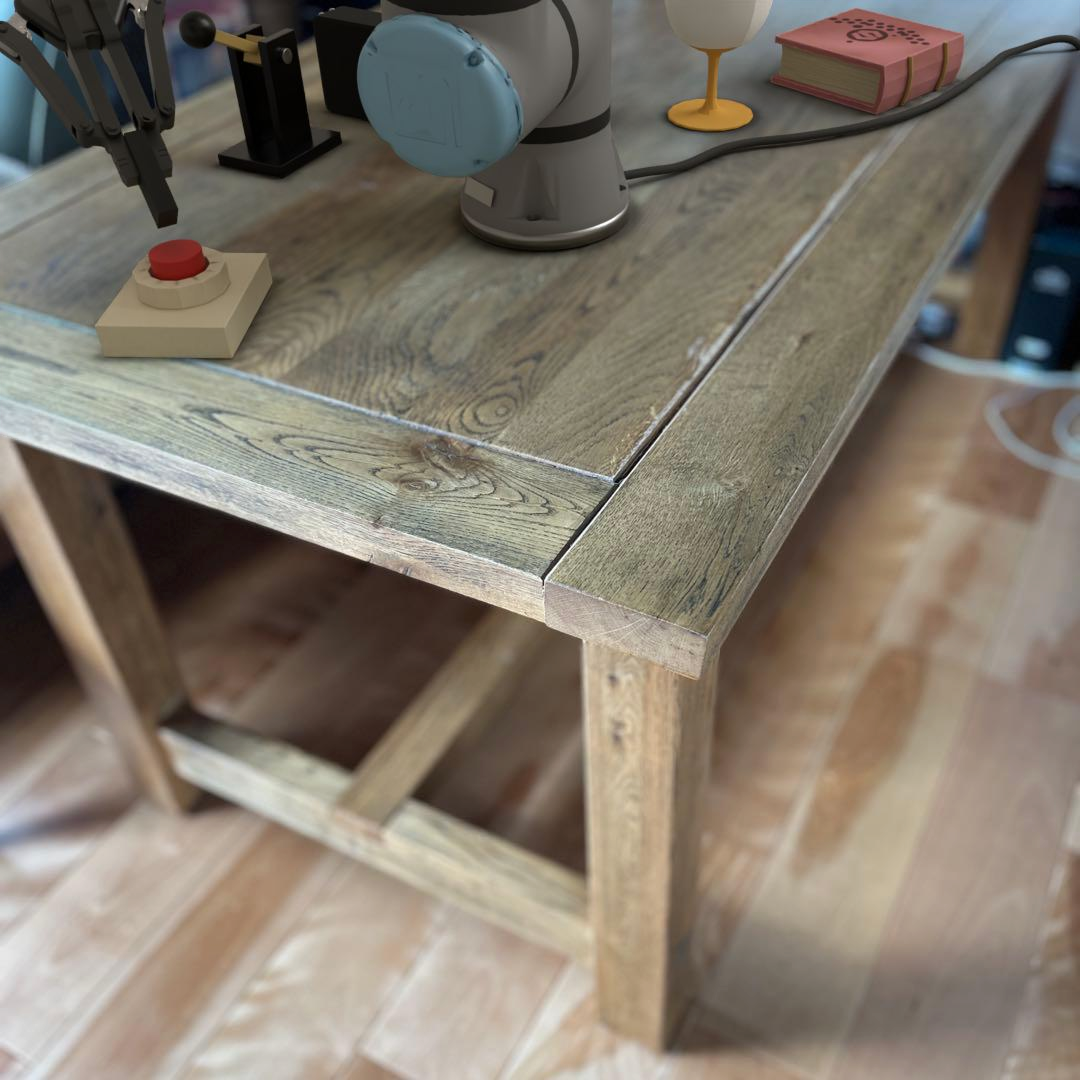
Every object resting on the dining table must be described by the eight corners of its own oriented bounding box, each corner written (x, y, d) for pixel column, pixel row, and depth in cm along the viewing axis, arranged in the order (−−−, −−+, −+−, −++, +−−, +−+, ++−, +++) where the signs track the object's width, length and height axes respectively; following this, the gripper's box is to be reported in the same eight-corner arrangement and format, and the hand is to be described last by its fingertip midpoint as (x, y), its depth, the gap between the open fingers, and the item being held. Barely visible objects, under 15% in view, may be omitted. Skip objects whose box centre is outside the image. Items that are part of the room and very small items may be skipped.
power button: (163, 259, 87) (158, 238, 86) (213, 259, 87) (208, 238, 86) (146, 283, 84) (140, 262, 83) (197, 284, 84) (192, 262, 83)
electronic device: (395, 127, 118) (383, 28, 112) (325, 111, 123) (310, 14, 116) (419, 115, 121) (409, 17, 114) (350, 99, 125) (337, 4, 119)
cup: (717, 89, 124) (729, -82, 113) (788, 119, 117) (809, -61, 106) (632, 112, 120) (636, -64, 109) (701, 145, 112) (713, -40, 101)
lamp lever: (196, 46, 98) (200, 7, 97) (169, 42, 99) (172, 3, 98) (283, 75, 108) (287, 40, 107) (257, 70, 109) (261, 36, 109)
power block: (156, 281, 93) (142, 231, 90) (273, 282, 93) (262, 232, 90) (104, 357, 84) (86, 304, 81) (232, 358, 84) (219, 305, 81)
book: (883, 116, 117) (891, 67, 113) (770, 82, 125) (775, 35, 122) (961, 82, 123) (971, 35, 120) (849, 52, 132) (855, 7, 129)
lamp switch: (282, 178, 109) (259, 53, 101) (219, 165, 112) (192, 42, 104) (342, 143, 115) (324, 22, 108) (281, 131, 118) (260, 13, 111)
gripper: (128, -51, 89) (245, 217, 89) (-41, -22, 84) (82, 262, 84) (129, -117, 82) (255, 174, 82) (-57, -90, 77) (78, 220, 77)
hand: (167, 218), depth 83 cm, fingers closed
